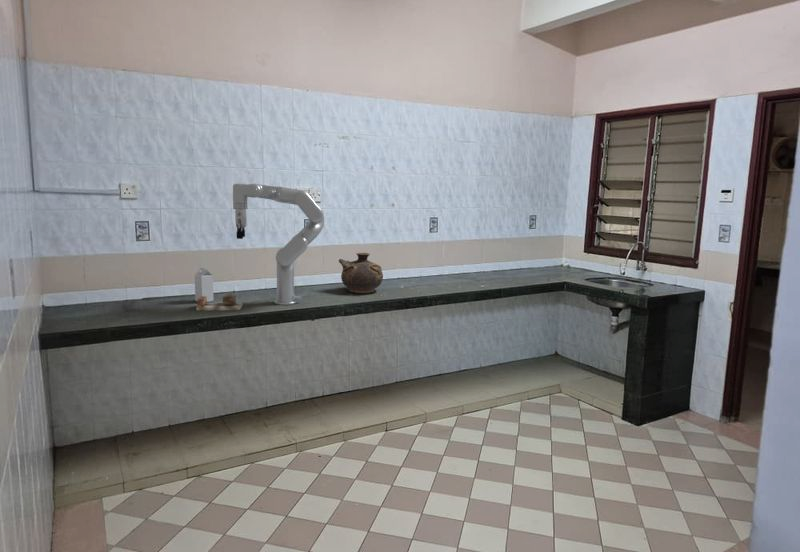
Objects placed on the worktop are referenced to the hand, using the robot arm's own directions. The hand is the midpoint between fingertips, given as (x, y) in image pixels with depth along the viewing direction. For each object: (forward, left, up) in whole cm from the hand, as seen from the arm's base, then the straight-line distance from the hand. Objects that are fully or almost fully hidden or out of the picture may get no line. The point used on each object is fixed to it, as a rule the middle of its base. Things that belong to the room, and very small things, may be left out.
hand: (240, 237), depth 298 cm
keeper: (+5, +12, -35) cm, 37 cm away
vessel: (-71, -34, -37) cm, 87 cm away
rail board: (+10, +12, -37) cm, 40 cm away
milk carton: (+21, -5, -37) cm, 43 cm away
